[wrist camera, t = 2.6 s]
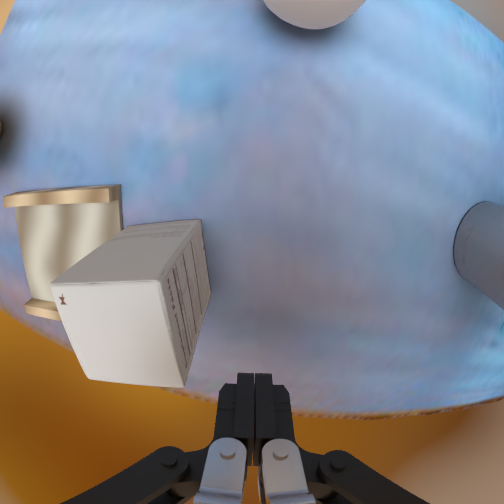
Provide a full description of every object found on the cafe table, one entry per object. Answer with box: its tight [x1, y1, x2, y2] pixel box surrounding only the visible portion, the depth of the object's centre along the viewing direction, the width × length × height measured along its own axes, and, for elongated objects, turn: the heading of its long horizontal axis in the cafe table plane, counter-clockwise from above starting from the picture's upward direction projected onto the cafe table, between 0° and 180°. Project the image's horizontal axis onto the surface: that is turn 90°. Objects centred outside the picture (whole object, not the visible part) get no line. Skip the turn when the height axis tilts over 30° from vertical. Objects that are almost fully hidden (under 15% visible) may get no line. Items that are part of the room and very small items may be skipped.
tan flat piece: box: [3, 185, 123, 321], centre depth 25 cm, size 14×14×2 cm
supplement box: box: [50, 219, 211, 388], centre depth 20 cm, size 7×7×13 cm
